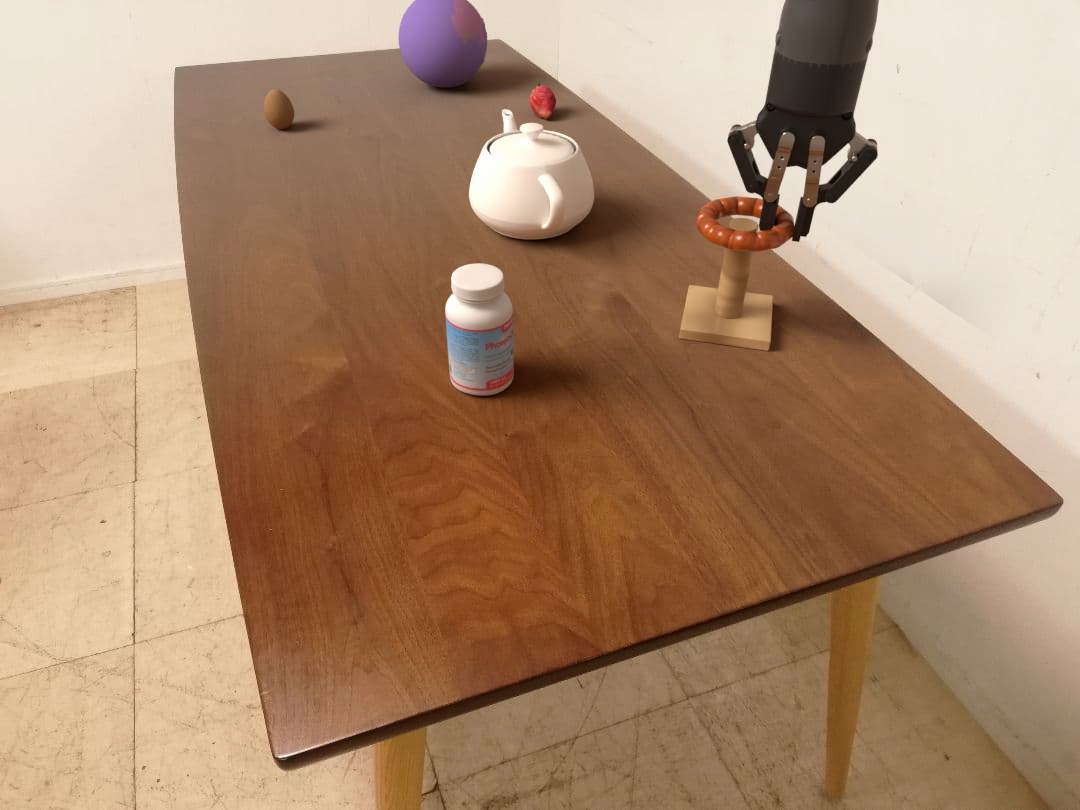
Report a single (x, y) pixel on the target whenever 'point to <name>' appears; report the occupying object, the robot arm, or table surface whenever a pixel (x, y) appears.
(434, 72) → the decorative ball
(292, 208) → the table surface
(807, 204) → the robot arm
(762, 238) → the ring
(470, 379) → the pill bottle
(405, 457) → the table surface
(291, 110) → the egg
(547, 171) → the teapot
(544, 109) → the fruit
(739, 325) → the post
